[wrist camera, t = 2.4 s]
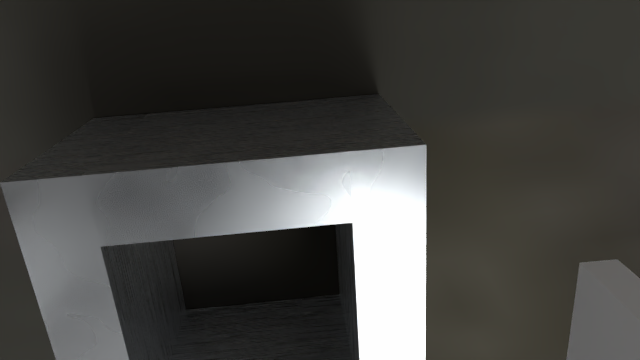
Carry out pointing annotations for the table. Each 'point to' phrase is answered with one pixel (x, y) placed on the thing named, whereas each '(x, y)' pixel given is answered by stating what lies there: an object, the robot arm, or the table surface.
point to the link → (227, 230)
